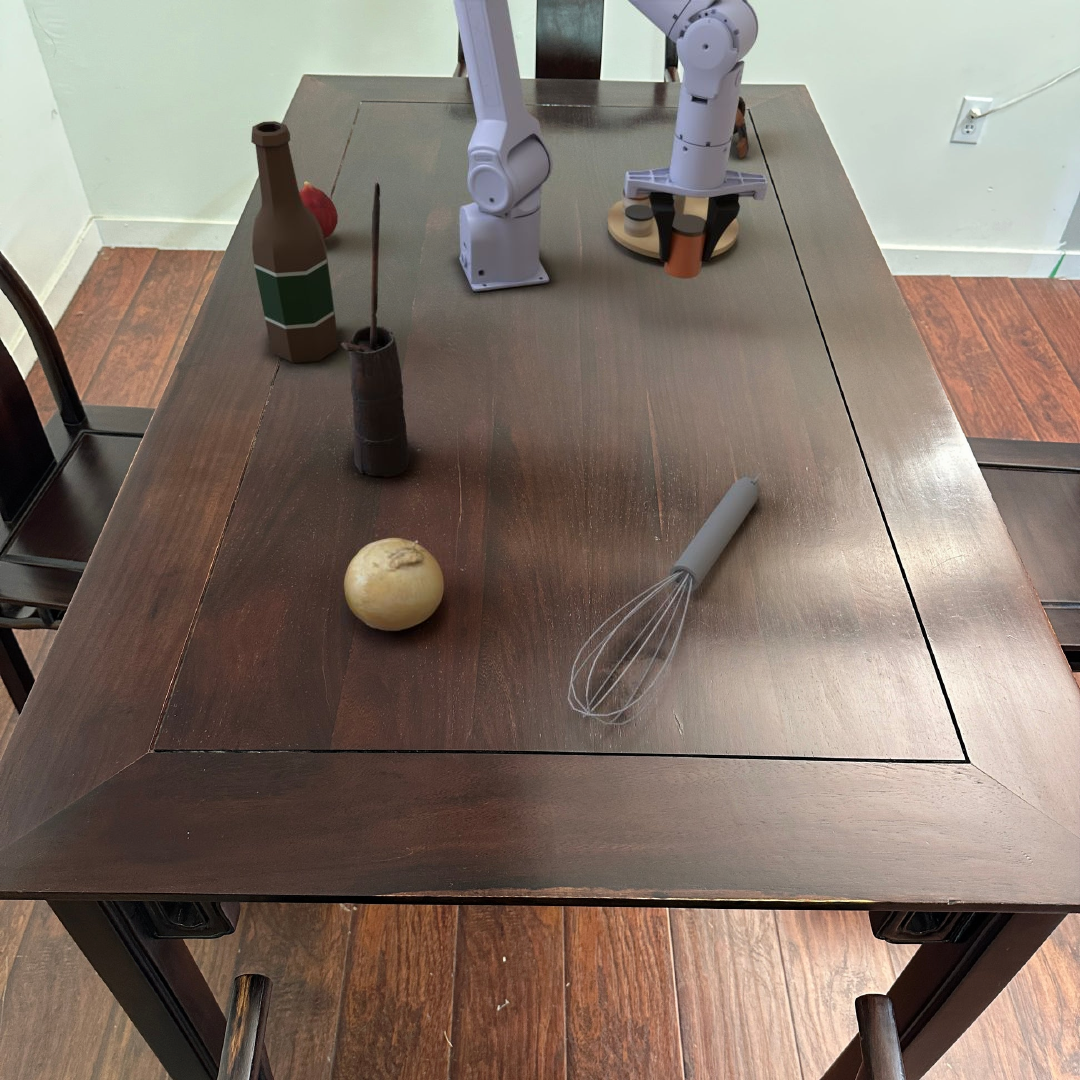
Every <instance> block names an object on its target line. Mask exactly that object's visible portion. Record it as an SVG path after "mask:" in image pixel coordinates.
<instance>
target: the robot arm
mask: <svg viewBox="0 0 1080 1080" xmlns="http://www.w3.org/2000/svg"><path fill="white" fill-rule="evenodd" d="M508 1H509V0H453V1H452V2H453V5H454V10H455V16H456V21H457V26H458V31H459V36H460V41H461V46H462V47H461V48H462V52H463V56H464V61H465V66H466V67H465V68H466V71H467V77H468V81H469V87H470V92H471V97H472V102H473V107H474V112H475V117H476V124H475V127H474V130H473V133H472V135H471V138H470V141H469V144H468V147H467V155H468V161H469V167H468V172H467V177H466V178H467V181H466V182H467V183H466V184H467V189H468V191H469V194H470V196H471V199H472V201H473V202H471V203H468V204H465V205H462V206H460V208H459V216H458V217H459V218H458V219H459V249H460V251H459V252H460V256H459V261H460V264H461V267H462V268H463V271H464V274H465V276H466V278H467V280H468V282H469V285H470V287H471V289H472V291H473V292H483V291H492V290H498V289H506V288H514V287H522V286H531V285H538V284H539V285H541V284H545V283H546V284H547V283H548V282H549V281H550V277H549V276H548V274H547V272H546V270H545V268H544V266H543V265H542V263H541V261H540V243H541V242H540V241H541V217H542V216H541V213H542V212H541V211H542V193H543V191H542V190H543V184H544V183H546V182H547V181H548V180H549V178H550V176H551V174H552V172H553V167H554V162H553V155H552V153H551V150H550V148H549V146H548V144H547V143H546V141H545V139H544V137H543V133H542V131H541V125H540V121H539V120H538V119H537V118H536V117H534V116H533V115H532V114H531V113H529V112H528V111H527V109H526V105H525V98H524V91H523V86H522V80H521V74H520V73H521V72H520V69H519V61H518V55H517V49H516V45H515V44H516V43H515V38H514V32H513V31H514V30H513V25H512V20H511V14H510V8H509V2H508ZM627 1H628V2H629V3H630V4H631V5H632V6H633V7H634V8H636V9H637V10H638V11H639V12H640V13H641V14H642V15H643V16H644V17H646V18H647V19H648V20H649V21H650V22H651V23H652V24H653V25H654V26H655V27H657V29H658V30H660V31H661V32H662V34H664V35H665V36H666V37H667V38H668V39H670V40H671V41H672V43H675V44H676V54H677V57H678V60H679V63H680V64H681V67H682V68H683V73H682V81H681V85H680V92H679V99H678V107H677V114H676V115H677V116H676V122H675V129H674V136H673V144H672V150H671V151H672V152H671V159H670V166H666V167H659V168H653V169H646V170H639V171H638V170H636V171H626V172H625V177H624V178H625V179H624V188H623V189H625V195H626V198H635V197H636V195H649V200H650V204H651V208H652V212H653V215H654V218H655V220H656V224H657V227H658V234H659V255H660V262H661V263H665V262H668V257H669V246H670V235H671V230H672V225H673V221H674V217H675V209H674V199H673V196H688V197H694V198H706V199H709V200H708V210H707V219H706V221H707V223H708V231H707V234H706V240H705V246H704V252H703V258H702V263H703V264H709V263H710V261H711V258H712V257H711V256H712V253H713V251H714V249H715V247H716V245H717V243H718V241H719V239H720V238H721V236H722V235H723V233H724V232H725V230H726V229H727V227H728V226H729V225H730V224H731V222H732V221H733V220H734V219H735V218H736V219H737V218H738V215H739V213H740V209H741V205H740V202H739V200H740V198H753V200H755V201H765V199H766V196H767V195H766V194H767V190H768V185H769V182H768V179H767V178H766V177H767V176H766V175H765V174H763V173H760V174H759V173H750V172H744V171H739V170H732V169H727V168H728V163H729V156H730V153H731V152H730V151H731V146H732V140H733V136H734V135H733V130H734V124H735V119H736V113H737V108H738V102H739V96H740V95H741V84H742V80H743V73H744V68H745V61H744V60H742V59H743V58H744V57H745V56H746V55H747V54H748V53H749V52H750V51H751V50H752V48H753V47H754V46H755V43H756V40H757V38H758V35H759V20H758V16H757V13H756V10H755V9H754V8H753V6H752V5H751V3H749V2H748V0H627ZM740 97H741V96H740Z"/></svg>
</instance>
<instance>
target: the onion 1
mask: <svg viewBox="0 0 1080 1080" xmlns="http://www.w3.org/2000/svg"><path fill="white" fill-rule="evenodd" d="M299 193H300V195H301V198H302V201H303V204H304V205H305V206H306V207H307V208H308V209H309V210H310V211H311V212H312V213H313V214H314V215H315V217H316V219H317V221H318V222H319V224H320V226H321V228H322V231H323V236H324V240H326V239H328V238H329V237H331V235H333V234H334V232H335V230H336V227H337V225H338V223H339V222H338V220H339V217H338V215H339V214H338V213H337V208H336V205H335V204H334V202H333V200H332V199H331V198H330V197H329V196H328V195H327V194H326V193H325V192H324V190H323V191H322V190H321V189H319V188H317V187H315V186H314V185H312V184H311V183H310V182H309V181H307V180H305V181H303V188H302V189H301V190H299Z"/></svg>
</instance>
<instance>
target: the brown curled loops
mask: <svg viewBox="0 0 1080 1080" xmlns="http://www.w3.org/2000/svg"><path fill="white" fill-rule="evenodd" d="M746 109H747V107H746V102H745V100H744V99H743V97H742V96H739V102H738V108H737V113H736V119H735V124H734V130H733V136H734V135H736V134H737V137H738V142H737V143H738V144H736V146H735V147H736V150H737V151H738V153H737V157H738V159H740V160H741V159H742V158H744V157H745V156H746V155H747V153H748V151H749V137H748V133H747V130H748V129H747V123H746V119H745V115H746Z"/></svg>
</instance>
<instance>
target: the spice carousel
mask: <svg viewBox="0 0 1080 1080" xmlns="http://www.w3.org/2000/svg"><path fill="white" fill-rule="evenodd" d="M673 199H674V209H675V216H677V215H683V214H690V215H696V216H699V217H701V218H703V219H705V220H706V219H707V210H708V200H709V198H694V197H688V196H673ZM606 226H607V229H608V231H609V234H610V235H611V236H612V238H613V239H614V240H615V241H617V243H619V244H620V245H622V246H624V247H625V248H627V249H629V250H631V251H633V252H634V253H638V254H640V255H643V256H647V257H650V258H655V259H660V255H659V234H658V227H657V224H656V220H655V218H654V215H653V212H652V208H651V204H650V200H649V195H636V197H635V198H626V195H625V189H624V188H623V189H622V199H621V200H618V201H617V202H616V203H614V204H613V205H612V207H611V208H610V210H609V211H608V214H607V221H606ZM739 229H740V227H739V223H738V220H737V217H736V218H735V219H734V220H733V221H732V222H731V224H730V225H729V226H728V227H727V229H726V230H725V232H724V233H723V235H722V236H721V238H720V239H719V241H718V243H717V245H716V247H715V249H714V251H713V253H712V256H711V258H712V257H715V256H719V255H720V254H723V253H725V252H726V251H728V250H729V249H730V248H731V247H733V246H734V245H735V243H736V241H737V239H738V236H739Z"/></svg>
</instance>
